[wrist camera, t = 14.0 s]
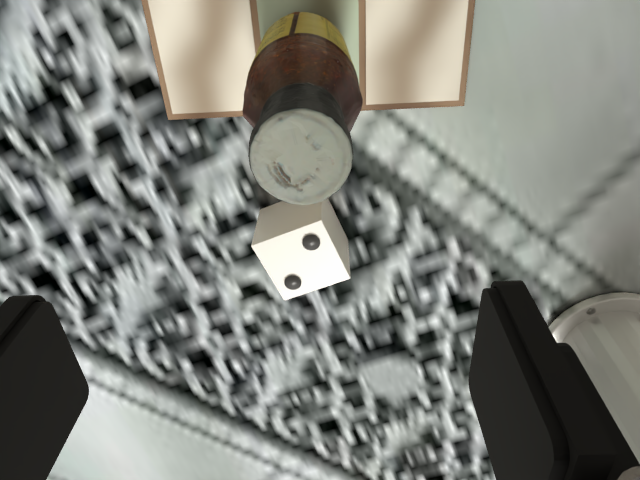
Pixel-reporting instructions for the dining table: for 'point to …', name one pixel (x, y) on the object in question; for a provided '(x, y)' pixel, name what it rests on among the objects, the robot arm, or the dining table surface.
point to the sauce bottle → (301, 109)
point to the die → (301, 247)
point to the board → (346, 15)
